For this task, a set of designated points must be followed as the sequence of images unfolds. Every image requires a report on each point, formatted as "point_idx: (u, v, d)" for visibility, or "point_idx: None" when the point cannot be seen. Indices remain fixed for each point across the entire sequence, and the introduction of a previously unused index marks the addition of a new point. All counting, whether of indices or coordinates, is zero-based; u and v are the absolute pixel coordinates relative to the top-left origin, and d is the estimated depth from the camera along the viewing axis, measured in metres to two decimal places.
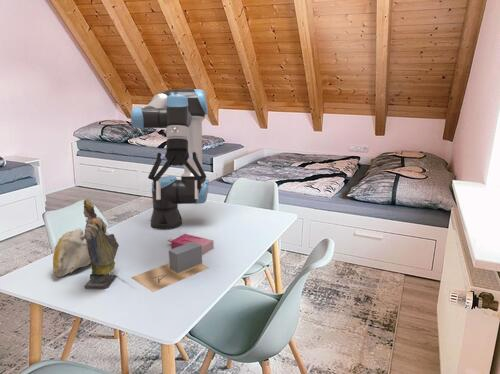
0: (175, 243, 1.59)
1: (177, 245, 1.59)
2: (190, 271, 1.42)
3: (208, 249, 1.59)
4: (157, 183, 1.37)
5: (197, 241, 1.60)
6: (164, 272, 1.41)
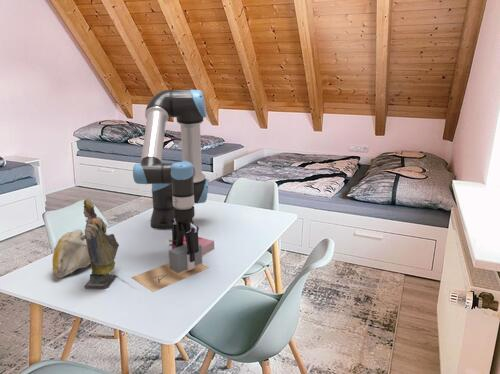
0: None
1: None
2: (190, 271, 1.42)
3: (208, 249, 1.58)
4: None
5: (198, 241, 1.60)
6: (164, 272, 1.41)
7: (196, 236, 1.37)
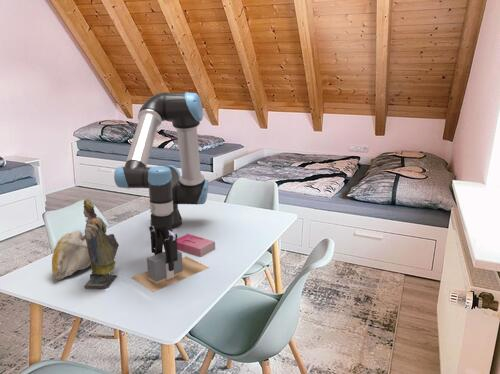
0: (177, 242, 1.60)
1: (178, 245, 1.59)
2: (190, 271, 1.42)
3: (209, 250, 1.58)
4: None
5: (198, 242, 1.59)
6: None
7: (175, 244, 1.31)
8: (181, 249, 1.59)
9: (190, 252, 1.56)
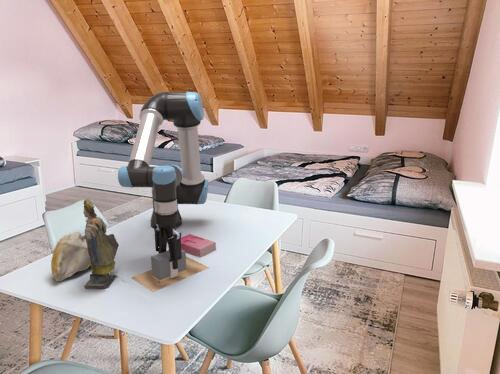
0: None
1: None
2: (190, 271, 1.42)
3: (209, 251, 1.57)
4: None
5: (199, 242, 1.59)
6: None
7: (179, 243, 1.32)
8: (182, 249, 1.59)
9: (191, 252, 1.56)
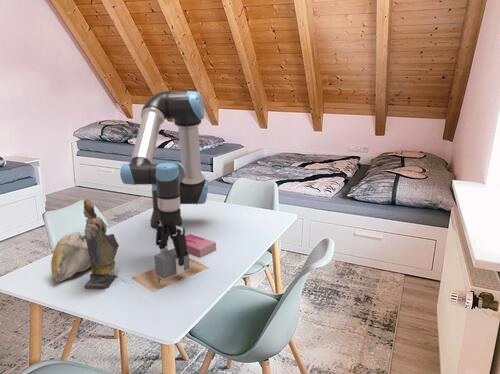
0: None
1: None
2: (190, 271, 1.42)
3: (209, 251, 1.57)
4: (161, 251, 1.41)
5: (199, 242, 1.59)
6: None
7: (183, 238, 1.32)
8: None
9: (191, 252, 1.56)
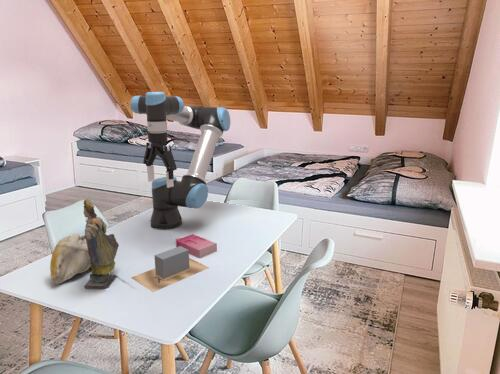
0: (179, 242, 1.60)
1: (181, 245, 1.60)
2: (190, 271, 1.42)
3: (210, 252, 1.56)
4: (147, 168, 1.63)
5: (200, 243, 1.58)
6: None
7: (170, 154, 1.53)
8: None
9: (191, 253, 1.56)
